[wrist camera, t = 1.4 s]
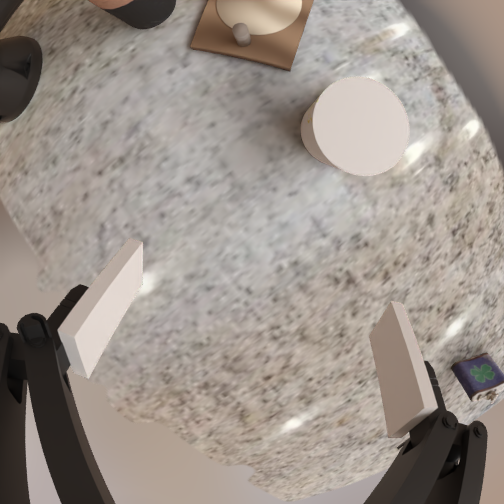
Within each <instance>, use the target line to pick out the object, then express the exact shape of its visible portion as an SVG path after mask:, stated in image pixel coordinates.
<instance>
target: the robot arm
mask: <svg viewBox="0 0 504 504" xmlns="http://www.w3.org/2000/svg"><path fill="white" fill-rule="evenodd" d="M23 1H24V0H0V32H1V30H2V29H3V28H4V26H5V25H6V23H7V22H8V20H9V19H10V18H11V16H12V15H13V14H14V12H15V11H16V10H17V8H18V7H19V6H20V5H21V3H22V2H23ZM41 68H42V52H41V48H40V46H39V44H38V42H37V41H36V40H34V39H32V38H29V37H25V36H16V37H10V38H5V39H0V123H1V122H9V121H12V120H14V119H15V118H17V117H18V116H19V115H20V114H21V113H22V112H23V111H24V109H25V108H26V107H27V105H28V104H29V102H30V100H31V98H32V97H33V94H34V92H35V90H36V87H37V85H38V82H39V78H40V74H41ZM142 285H143V242H142V241H138V240H134V239H130V238H129V240H128V241H127V242H126V243H125V244H124V245H123V247H122V248H121V249H120V250H119V251H118V252H117V254H116V255H115V256H114V257H113V258H112V260H111V261H110V262H109V263H108V264H107V266H106V267H105V268H104V269H103V271H102V272H101V273H100V274H99V275H98V277H97V278H96V279H95V281H94V282H93V283H92V284H91V286H90V287H87V286H84V285H81V284H80V285H78V286H76V287H75V288H73V289H71V290H70V292H69V293H68V294H67V295H66V297H65V299H63V300H62V302H61V303H60V305H58V307H57V308H56V309H55V310H54V312H53V313H52V314H51V316H50V317H49V318H48V320H47V321H46V318H45V317H44V316H43V315H41V314H38V313H31V314H28V315H25V316H24V317H22V318H21V320H20V321H19V322H18V325H17V330H18V333H19V334H18V333H11V332H10V331H9V329H8V327H7V326H6V325H5V324H3V323H0V504H30V499H29V491H28V482H27V470H26V451H25V415H26V395H27V383H28V386H29V392H30V398H31V403H32V408H33V413H34V417H35V422H36V426H37V430H38V434H39V438H40V442H41V445H42V449H43V452H44V456H45V459H46V462H47V465H48V468H49V472H50V474H51V477H52V480H53V483H54V485H55V488H56V491H57V494H58V496H59V498H60V501H61V503H62V504H115V502H114V500H113V498H112V496H111V494H110V492H109V490H108V488H107V485H106V483H105V481H104V479H103V477H102V475H101V472H100V470H99V468H98V465H97V463H96V461H95V458H94V455H93V453H92V450H91V448H90V445H89V443H88V440H87V437H86V435H85V432H84V429H83V426H82V423H81V420H80V417H79V414H78V410H77V407H76V404H75V401H74V397H73V393H72V390H71V386H70V382H69V378H68V375H67V372H66V371H67V370H68V368H69V366H71V368H72V371H73V373H75V374H77V375H80V376H82V377H84V378H87V379H89V377H90V375H91V373H92V371H93V369H94V368H95V366H96V364H97V362H98V360H99V358H100V356H101V355H102V353H103V351H104V349H105V347H106V346H107V344H108V342H109V340H110V339H111V337H112V335H113V333H114V331H115V330H116V328H117V326H118V325H119V323H120V321H121V319H122V318H123V316H124V314H125V313H126V311H127V309H128V308H129V306H130V304H131V303H132V301H133V299H134V298H135V296H136V294H137V293H138V291H139V289H140V288H141V286H142ZM369 338H370V342H371V347H372V351H373V356H374V360H375V365H376V370H377V375H378V380H379V385H380V390H381V396H382V401H383V407H384V413H385V419H386V425H387V432H388V438H402V437H403V436H404V435H406V434H407V433H408V432H409V433H410V438H409V439H407V440H406V441H405V442H403V443H402V444H401V445H399V446H398V447H397V448H398V449H399V448H401V447H402V446H403V447H402V449H401V450H400V452H399V454H398V455H397V457H396V458H395V460H394V462H393V463H392V465H391V466H390V468H389V469H388V471H387V472H386V474H385V475H384V477H383V478H382V479H381V481H380V482H379V484H378V485H377V486H376V488H375V489H374V490H373V492H372V493H371V495H370V496H369V497H368V498H367V500H366V501H365V503H364V504H479V501H480V496H481V490H482V484H483V477H484V469H485V461H486V449H487V430H486V427H485V426H484V424H483V423H481V422H480V421H473V422H472V423H471V424H470V425H468V426H467V425H464V424H461V423H458V420H457V418H456V416H455V415H454V414H453V413H451V412H450V411H447V410H446V407H445V404H444V400H443V397H442V394H441V391H440V387H439V386H438V385H439V384H438V381H437V380H436V375H435V372H434V369H433V368H432V366H431V365H430V363H429V362H428V361H424V360H423V357H422V354H421V351H420V349H419V346H418V343H417V340H416V337H415V335H414V332H413V329H412V327H411V324H410V321H409V319H408V316H407V314H406V311H405V309H404V306H403V304H402V303H398V302H393V301H391V302H390V304H389V305H388V307H387V309H386V310H385V312H384V314H383V315H382V317H381V318H380V320H379V322H378V323H377V325H376V326H375V328H374V329H373V331H372V332H371V334H370V335H369ZM459 459H460V462H459V464H458V460H459Z"/></svg>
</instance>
